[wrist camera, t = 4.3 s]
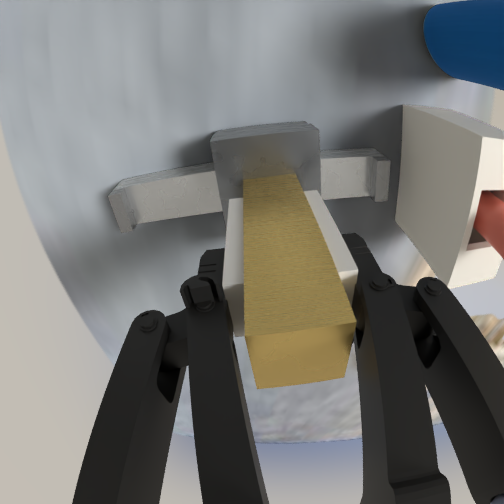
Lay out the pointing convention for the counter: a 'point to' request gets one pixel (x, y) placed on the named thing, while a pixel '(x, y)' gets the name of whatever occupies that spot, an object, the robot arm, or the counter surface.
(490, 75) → the beverage can
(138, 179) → the rail
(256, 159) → the carriage
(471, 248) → the end cabinet
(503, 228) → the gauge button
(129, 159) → the counter surface
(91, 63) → the counter surface
